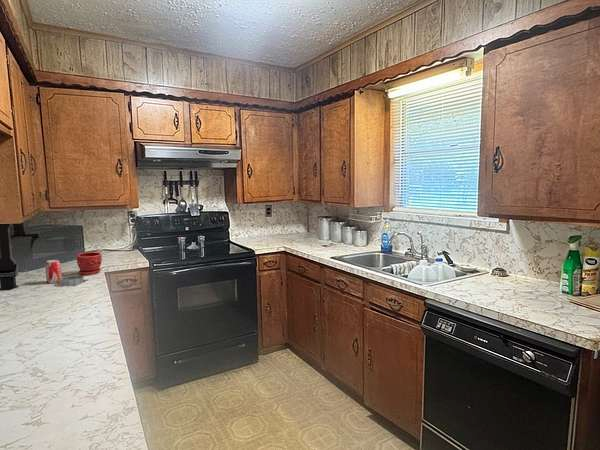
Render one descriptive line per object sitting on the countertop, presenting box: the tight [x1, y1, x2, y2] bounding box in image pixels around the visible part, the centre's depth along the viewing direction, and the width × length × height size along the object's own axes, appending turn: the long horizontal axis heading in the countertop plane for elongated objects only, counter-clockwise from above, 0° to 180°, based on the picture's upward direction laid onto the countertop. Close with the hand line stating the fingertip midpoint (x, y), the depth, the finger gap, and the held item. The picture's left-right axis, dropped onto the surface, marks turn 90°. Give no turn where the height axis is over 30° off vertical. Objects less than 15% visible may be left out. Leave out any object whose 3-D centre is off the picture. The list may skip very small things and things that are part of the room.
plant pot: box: [76, 251, 103, 276], centre depth 222 cm, size 13×13×12 cm
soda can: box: [45, 259, 63, 284], centre depth 202 cm, size 7×7×12 cm
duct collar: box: [55, 274, 89, 287], centre depth 201 cm, size 11×11×3 cm
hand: (21, 249), depth 218 cm, fingers open, 9 cm apart
